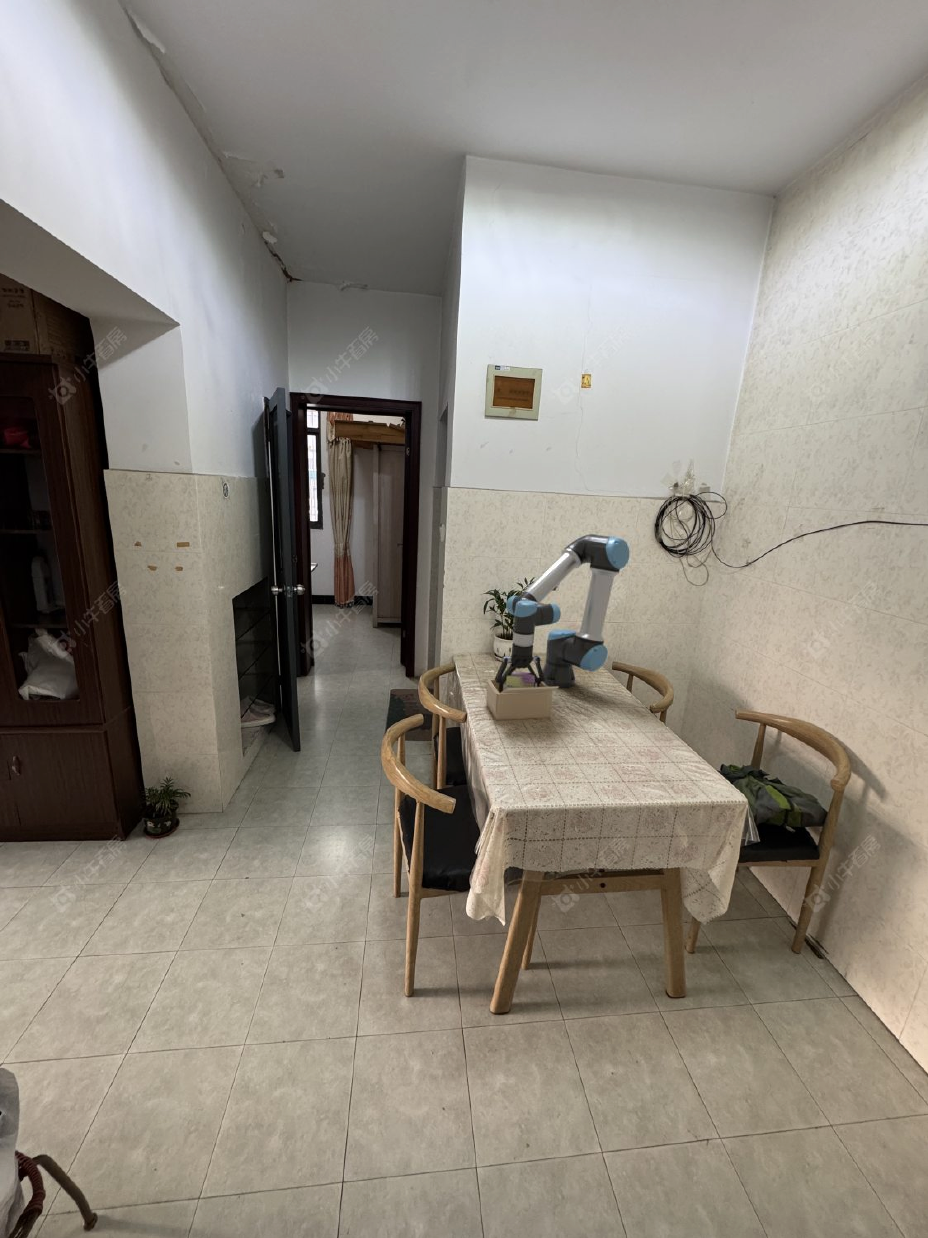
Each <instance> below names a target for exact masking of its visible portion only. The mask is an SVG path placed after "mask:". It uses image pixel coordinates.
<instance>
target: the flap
mask: <svg viewBox="0 0 928 1238" xmlns="http://www.w3.org/2000/svg"><path fill="white" fill-rule="evenodd" d="M559 688H560V687H559V686H556V687H553V686H547V687H528V688H507V689H505V690H504V691H502V692H501V694H502V693H528V692H551V691H552V692H553V691H556V689H559Z"/></svg>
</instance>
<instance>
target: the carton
mask: <svg viewBox="0 0 928 1238" xmlns="http://www.w3.org/2000/svg"><path fill="white" fill-rule="evenodd" d="M534 681H535V679H534ZM505 684H506V682H505ZM539 687H548V685H546V684H545V683H544V682H543V681H542V682H541V684H539ZM552 698H553V691H551V692H528V693H502V694H501V692H500V691H499V683H497V682H496V681H495V678H493V679H492V678H490V679H489V678H488V679H487V681H486V695H485V699H486V705H487V708H488V709H489V710H490V712H491V713H492V715H493V717H494V718H495V720H496V721H505V720H508V721H509V720H529V719H530V720H531V719H545V718H546V719H548V718H550V715H551V710H552V700H553V699H552Z"/></svg>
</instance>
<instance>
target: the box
mask: <svg viewBox="0 0 928 1238" xmlns="http://www.w3.org/2000/svg"><path fill="white" fill-rule="evenodd" d="M534 679H535V677H534V675H532V674H531V673H530V672H524V671H516V670H515V671H513V672H512V674H511V675H510V676H507V680H506V689H507V688H528V687H534Z"/></svg>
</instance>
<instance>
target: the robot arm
mask: <svg viewBox="0 0 928 1238" xmlns="http://www.w3.org/2000/svg"><path fill="white" fill-rule="evenodd" d="M629 560H630V547H629V545H628V542H627V541H626V540H625V539H623V538H622V537H617V536H611V535H610V536H609V535H601V534H593V533H590V534H585V535H583V536H580V537H578V538H577V539H575V540H574V541H572V542H571V543H569V544H568V545H567V546H566V547H564V548H563V549H562V551H561V555H559V556H558V558H557V559H556V560H555V561H554V562H553V563H551V565H549V567H547V569H545V570H544V572H542V573H541V574H540V575H539V576H538V577H537V578H536V579H535V580H534V581H533V582H532V583H531V584H530V585H529V586H528V587H526V589H525V590H524V591H523V592H522V593H521V594H520V595H511V596H510V597H509V598H508V599H507V602H506V605H505V607H506V610H507V612H508V613H509V614H510V615H513V616H514V619H513V631H512V633H513V635H512V644H511V656H505V655H503V657H502V662H501V664H500V667H499V668H498V670H497V673H496V675H495V677H494V679H495V681H496V682H497V683H499V691H500V692H502V691H504V690H505V689H506V684H505V682H506V680H507V676H510V675H511V674H512V672H513V671H515V672H516V670H517V669H519V670H520V669H528V671H529V673H531V674H532V675H534V677H535V681H534V687H539V684H541V682H542V681H543V682H544V683H545V684H546V685H547V686H548V687H556V686H559V688H562V689H563V688H571V687H573V686H574V685H575V684H576V675H575V671H574V667H573V666H575V667H578V668H580V669H581V670H584V671H588V672H596V671H599V669H600V668H601V667H602V666H604V665H605V662H607V658H608V649H607V647H606V646H605V645H604V643H605V638H604V637H603V635H602V634H603V629H604V624H605V620H606V617H607V616H606V615H607V611H608V607H609V602H610V598H611V594H612V593H611V592H612V588H613V584H614V579H615V577H616V576H617V575H619V574H620V572H621V569H624V568H625V567H626V566H627V564H628V563H629ZM583 564H589V570H590V571H591V577H590V578H591V579H590V581H589V582H590V583H589V587H588V590H587V591H588V592H587V597H586V602H585V606H584V610H583V615H582V621H581V623H580V624H581V625H580V630H579V631H577V632H576V631H575V630H572V629H564V628H563V629H554V630H550V631H549V632H548V635H547V639H546V640H547V641H546V652H545V653H546V654H545V663H544V666H543V667H542V666H541V665H542V664H541V657H539V655H534V656H533V653H534V652H533V650H534V645H533V644H535V643H534V641H535V629H536V627H541V626H547V625H548V626H550V625H552V624H553V625H554V624H556V623H558V622H559V621H560V619H561V616H562V615H561V614H562V611H561V609H560V607H559V606H558V605H557V604H556V603H549V602H548V603H547V604H546V603H542V601H543V600H544V599H545V598H546V597H547V596H548V595H550V593H551V592H552V591H553V590H554V589H555V588H556V587H557V586H558V585H559V584H560V583H561V582H563V580H565V578H566V577H567V576H568V575H569V574H571V572H573V570H574V569H579V568H580V567H581V566H582V565H583ZM510 662H511V663H510ZM532 662H534V664H535V667H536V670H537V674H538V676H537V674H536V672H535V670H534V669H533V667H532V666H531V663H532ZM509 663H510V665H509V667H508V668H507V666H508V664H509ZM506 668H507V669H506Z"/></svg>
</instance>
